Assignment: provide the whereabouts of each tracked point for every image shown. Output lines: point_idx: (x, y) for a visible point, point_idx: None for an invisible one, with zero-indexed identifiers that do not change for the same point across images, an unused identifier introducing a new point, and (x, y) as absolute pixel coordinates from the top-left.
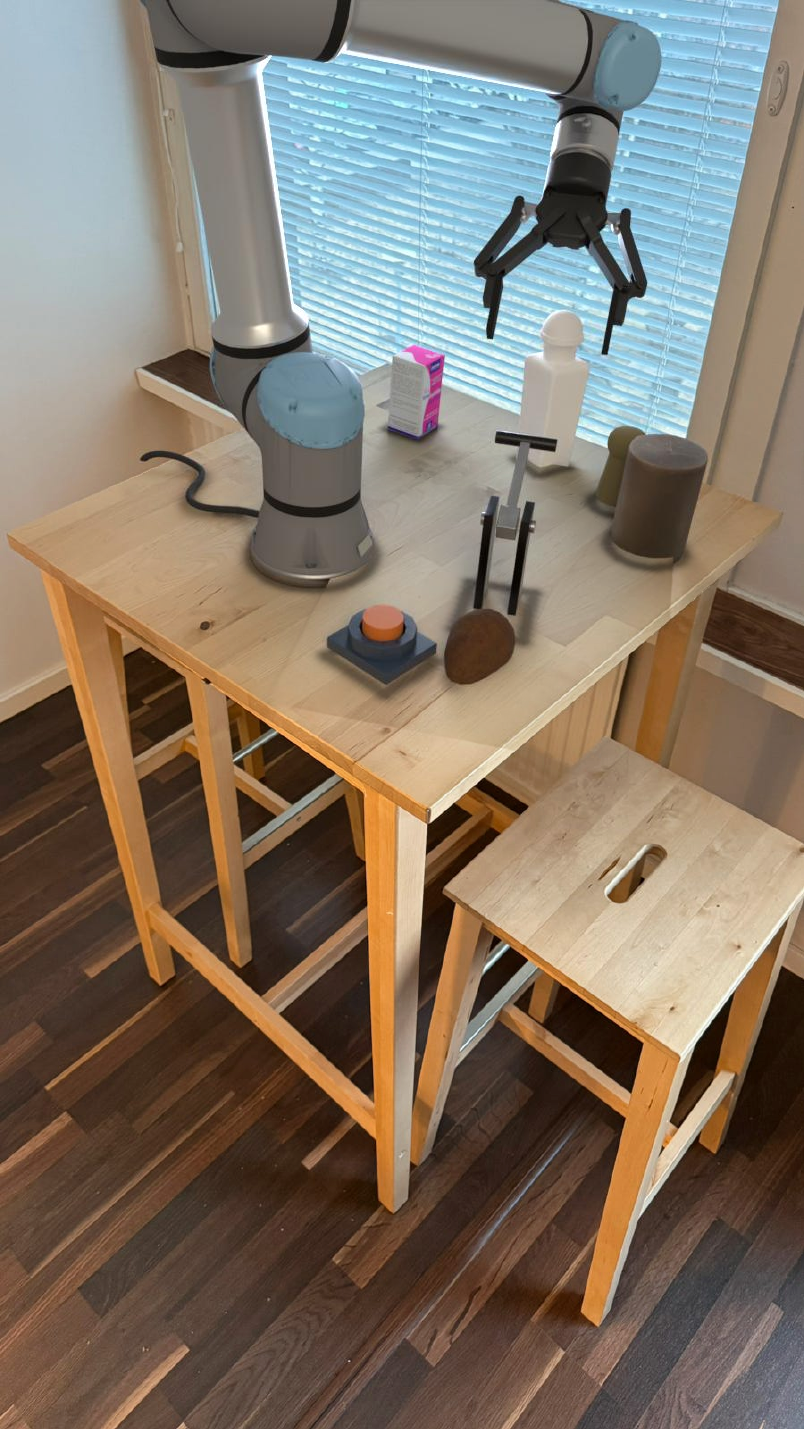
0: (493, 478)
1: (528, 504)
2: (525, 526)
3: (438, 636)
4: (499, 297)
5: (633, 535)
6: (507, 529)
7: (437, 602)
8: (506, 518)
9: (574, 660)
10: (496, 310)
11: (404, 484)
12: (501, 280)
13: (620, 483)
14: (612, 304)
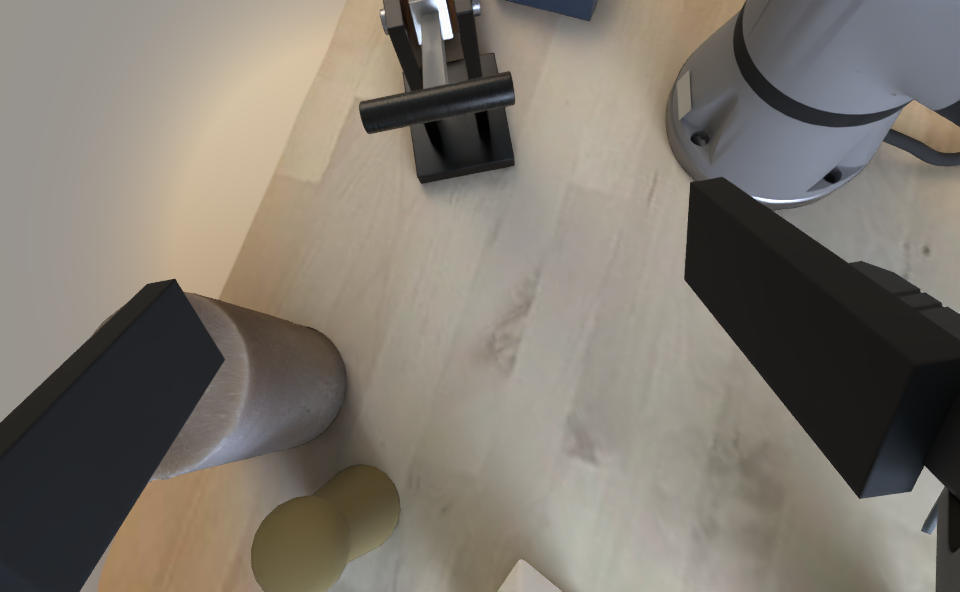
0: (599, 504)
1: (396, 16)
2: None
3: (509, 42)
4: (794, 323)
5: (286, 320)
6: None
7: (539, 103)
8: None
9: (339, 78)
10: (743, 253)
11: (745, 397)
12: (883, 333)
13: (330, 485)
14: (18, 427)
